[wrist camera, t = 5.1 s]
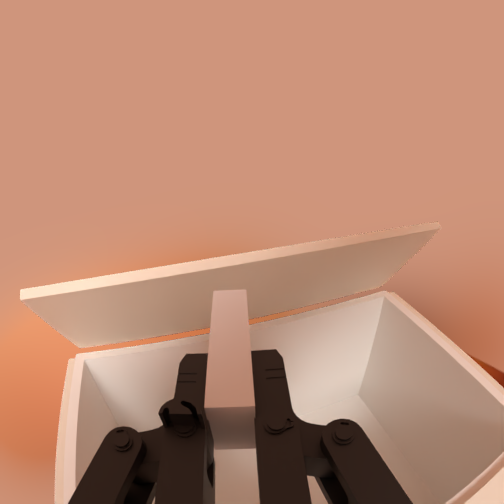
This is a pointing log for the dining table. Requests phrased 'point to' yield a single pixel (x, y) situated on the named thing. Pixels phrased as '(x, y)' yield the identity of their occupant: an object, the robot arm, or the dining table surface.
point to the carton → (317, 400)
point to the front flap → (223, 286)
